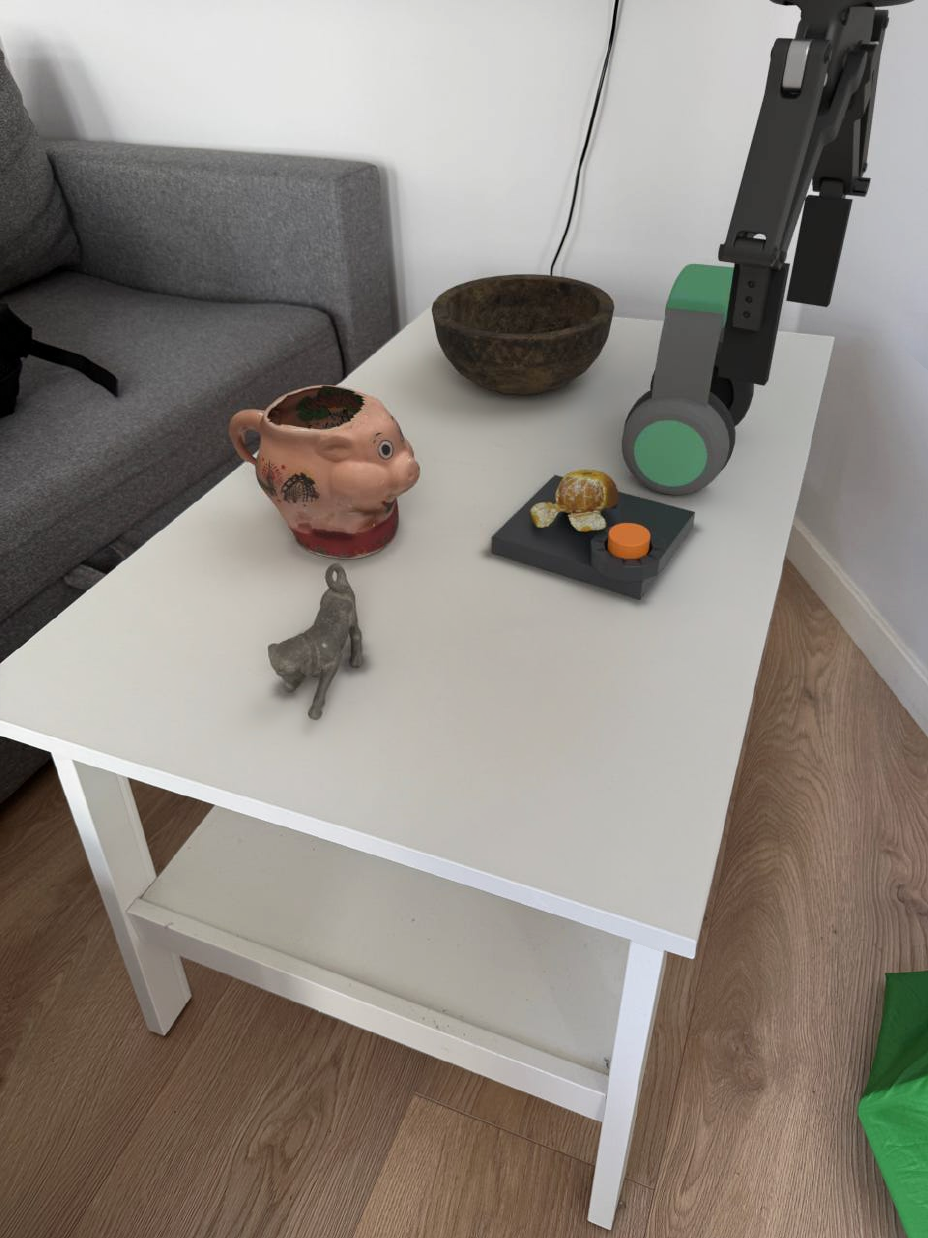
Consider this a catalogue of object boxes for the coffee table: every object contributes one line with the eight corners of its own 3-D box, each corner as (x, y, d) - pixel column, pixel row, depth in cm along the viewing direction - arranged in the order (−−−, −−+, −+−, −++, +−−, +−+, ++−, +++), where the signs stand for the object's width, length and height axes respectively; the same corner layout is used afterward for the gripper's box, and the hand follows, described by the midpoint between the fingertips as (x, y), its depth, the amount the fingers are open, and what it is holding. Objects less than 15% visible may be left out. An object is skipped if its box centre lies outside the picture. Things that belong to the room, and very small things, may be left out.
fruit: (520, 524, 86) (517, 487, 84) (568, 492, 91) (565, 457, 90) (597, 537, 81) (594, 498, 79) (642, 503, 87) (641, 466, 85)
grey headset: (654, 413, 107) (673, 236, 95) (749, 428, 104) (782, 246, 91) (611, 493, 94) (626, 298, 81) (718, 512, 90) (752, 312, 78)
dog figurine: (317, 623, 79) (305, 552, 74) (380, 634, 77) (371, 562, 73) (254, 720, 70) (236, 645, 65) (324, 733, 68) (310, 659, 64)
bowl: (560, 437, 104) (563, 352, 97) (402, 398, 113) (395, 319, 107) (636, 367, 118) (643, 289, 112) (490, 337, 127) (489, 264, 121)
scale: (700, 530, 88) (705, 499, 86) (644, 607, 79) (648, 574, 77) (554, 490, 95) (555, 460, 93) (487, 557, 86) (486, 525, 84)
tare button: (655, 543, 81) (656, 529, 80) (639, 564, 79) (640, 549, 78) (617, 533, 83) (618, 518, 82) (600, 553, 80) (601, 538, 79)
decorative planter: (211, 550, 88) (177, 418, 79) (271, 488, 97) (247, 362, 88) (403, 585, 83) (390, 447, 74) (448, 515, 92) (441, 385, 83)
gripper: (885, -90, 34) (779, 434, 47) (984, -108, 50) (885, 284, 63) (689, -85, 37) (642, 404, 50) (843, -104, 53) (776, 268, 66)
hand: (777, 338), depth 57 cm, fingers open, 13 cm apart
